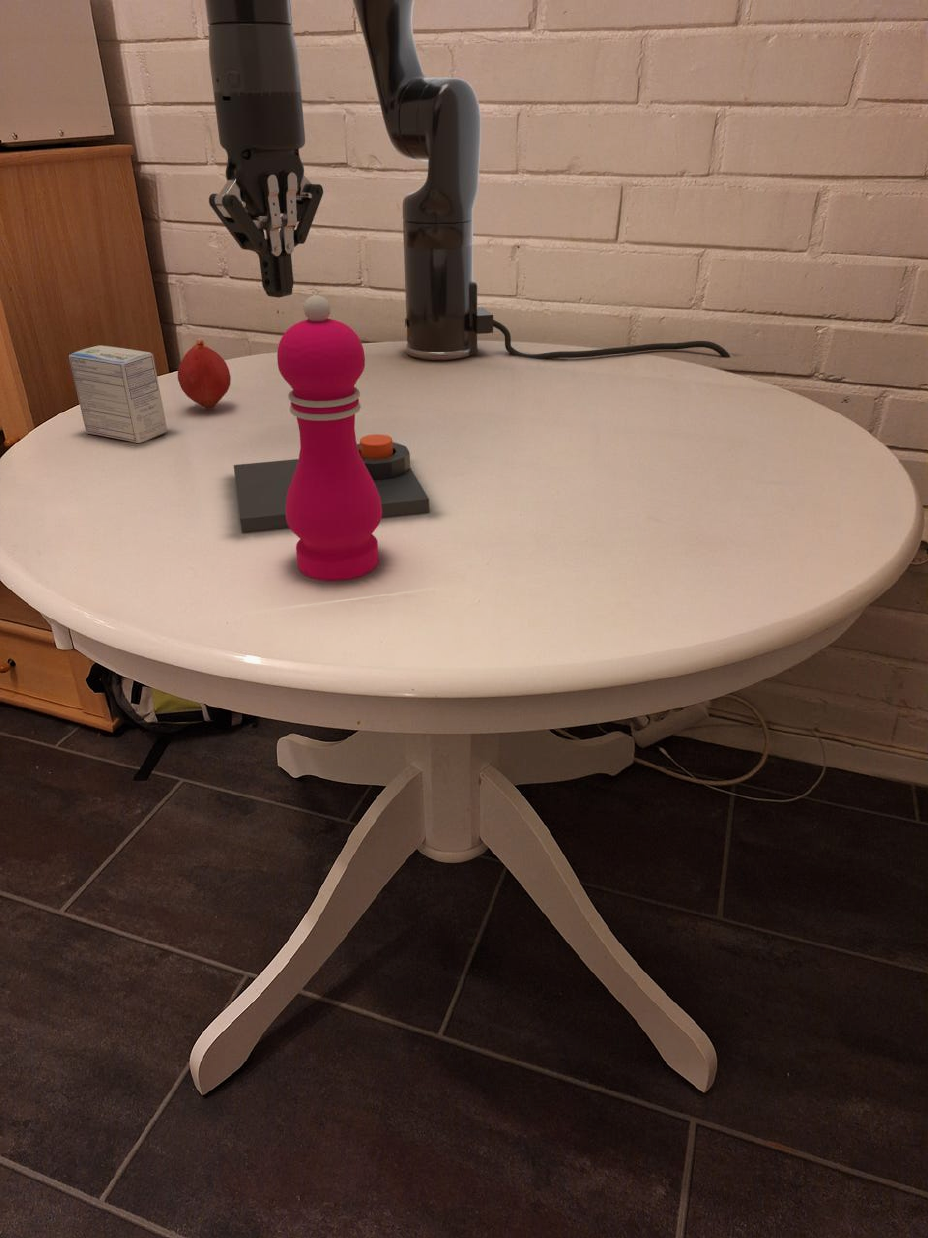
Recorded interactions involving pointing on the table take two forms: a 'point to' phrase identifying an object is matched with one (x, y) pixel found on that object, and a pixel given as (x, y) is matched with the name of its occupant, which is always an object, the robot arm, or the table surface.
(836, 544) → the table surface
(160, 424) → the medicine box
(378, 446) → the button
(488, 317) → the robot arm
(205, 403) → the onion
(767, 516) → the table surface
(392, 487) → the scale
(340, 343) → the pepper mill
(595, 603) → the table surface
